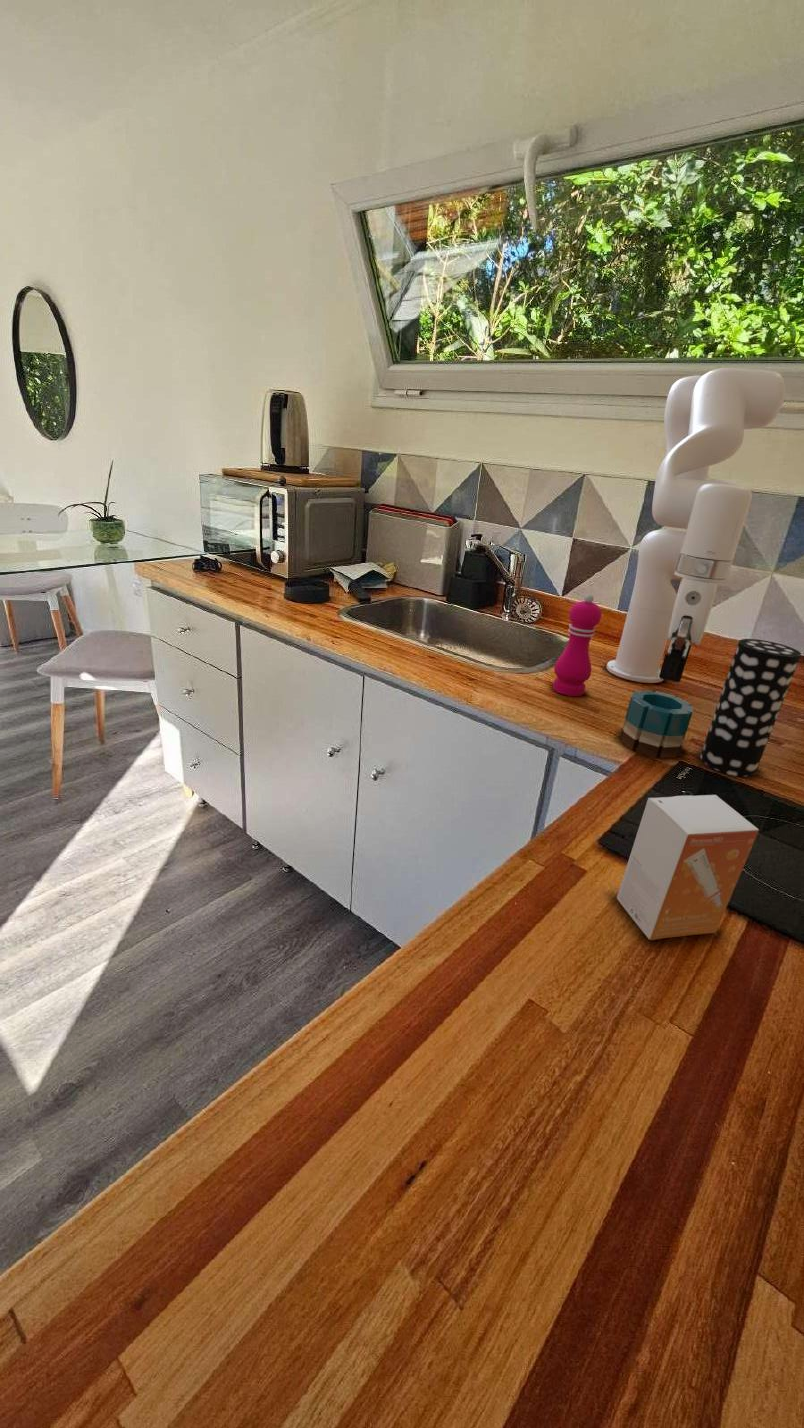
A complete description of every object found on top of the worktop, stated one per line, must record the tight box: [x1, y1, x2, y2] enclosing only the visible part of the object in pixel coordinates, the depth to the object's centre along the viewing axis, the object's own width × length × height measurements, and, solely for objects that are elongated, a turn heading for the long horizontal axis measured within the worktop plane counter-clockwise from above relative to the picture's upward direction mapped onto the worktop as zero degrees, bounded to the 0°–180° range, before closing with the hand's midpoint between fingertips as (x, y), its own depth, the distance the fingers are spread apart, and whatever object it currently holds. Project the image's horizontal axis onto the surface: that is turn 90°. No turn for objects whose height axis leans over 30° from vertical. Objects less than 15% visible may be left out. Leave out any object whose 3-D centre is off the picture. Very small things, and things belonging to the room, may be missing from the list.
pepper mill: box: [552, 593, 602, 697], centre depth 118 cm, size 7×7×20 cm
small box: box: [616, 794, 760, 941], centre depth 60 cm, size 8×6×13 cm
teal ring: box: [624, 690, 695, 737], centre depth 99 cm, size 10×10×4 cm
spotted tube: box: [700, 638, 802, 778], centre depth 93 cm, size 8×8×20 cm
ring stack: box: [619, 718, 687, 759], centre depth 101 cm, size 10×10×4 cm
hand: (672, 672), depth 99 cm, fingers open, 9 cm apart
